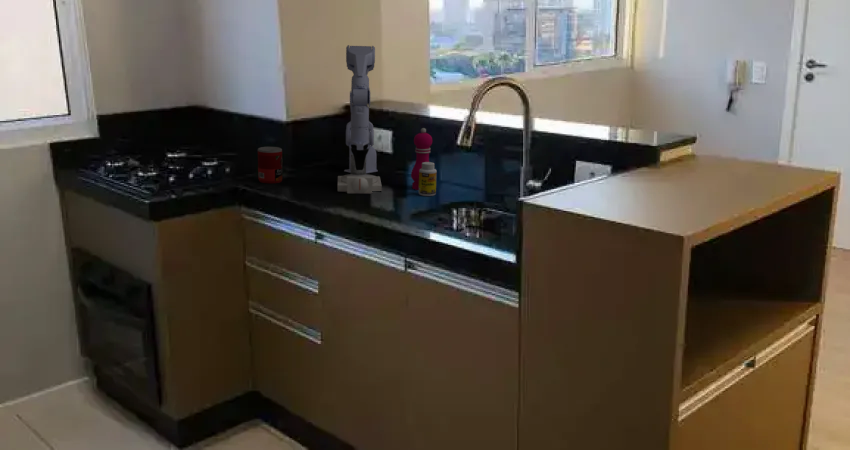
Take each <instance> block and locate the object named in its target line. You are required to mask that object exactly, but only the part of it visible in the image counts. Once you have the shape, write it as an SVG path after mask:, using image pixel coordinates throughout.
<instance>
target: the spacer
mask: <svg viewBox="0 0 850 450" xmlns="http://www.w3.org/2000/svg"><path fill="white" fill-rule="evenodd" d="M350 174H353V175H364V174H367V173H366V158H365V162H364V167H363V170H356V166H355V159H354V156H353V154H352V155H351V173H350Z"/></svg>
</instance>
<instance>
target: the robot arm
mask: <svg viewBox="0 0 850 450" xmlns="http://www.w3.org/2000/svg"><path fill="white" fill-rule="evenodd" d="M345 53H346V54H345V58H346V59H345V62H346V67H347V70H349V71H350V72H351V73H353V75H352V77H351V80H350V81H351V85H350V87H351V88H350V91H349V107H350V121H349V122H347V123H346V126H345V127H346V129H345V145H346V146H347V147H348V149H349V159H348V160H349V161H348V163H349V165H348V166H349V167H348V169H344V170H343V172H346V173H350V174H351V155H352V154H353V156H354V159H355V166H356V170H363V167H364V162H365V158H366V174H370V173H376V172H378V169H377V151H376V148H375V147H374V142H375V140H374V139H375V136H374V135H375V130H374V125H373V123H372V122H371V121H370V119H369V118H370V116H369V115H370V106H371V90H370V77H369V76H368V74H369V73H370V72H372V71H374V68H375V62H376V47H375V46H374V45H349V44H348V45H347V46H346V48H345Z"/></svg>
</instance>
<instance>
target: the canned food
mask: <svg viewBox="0 0 850 450" xmlns="http://www.w3.org/2000/svg"><path fill="white" fill-rule="evenodd" d="M257 172H258V176H257V177H258V181H259V182H260V183H262V184H268V185H269V184H270V185H271V184H279V183H281V182H282V181H283V149H282V148H281V147H279V146H261V147H258V148H257Z"/></svg>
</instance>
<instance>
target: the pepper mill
mask: <svg viewBox="0 0 850 450" xmlns="http://www.w3.org/2000/svg"><path fill="white" fill-rule="evenodd" d="M413 143H414V145H415V150H414V153H416V160H415V162H414V165H413V168H412V169H411V172H410V174H411V175H410V178H411V179H412V180H413V182H412V183H411V184H412V187H411V188H412V189H413V190H414V189H415V191H419V170H420V169H421V168H422V163H423V162H430V154H431V146H432V144H433V137H432V135H430V134H429V133H427V128H425V127H422V128H421V129H420V132H419V133H417V134H415V136H414V138H413Z"/></svg>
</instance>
